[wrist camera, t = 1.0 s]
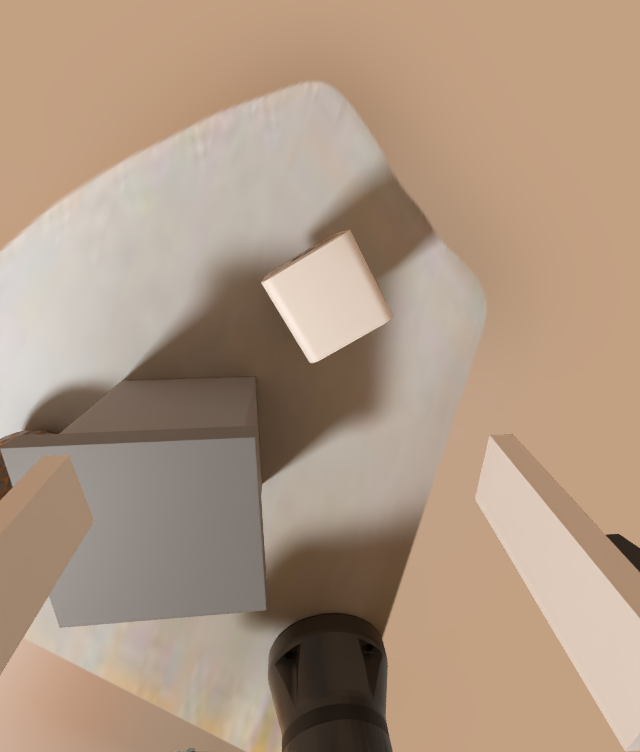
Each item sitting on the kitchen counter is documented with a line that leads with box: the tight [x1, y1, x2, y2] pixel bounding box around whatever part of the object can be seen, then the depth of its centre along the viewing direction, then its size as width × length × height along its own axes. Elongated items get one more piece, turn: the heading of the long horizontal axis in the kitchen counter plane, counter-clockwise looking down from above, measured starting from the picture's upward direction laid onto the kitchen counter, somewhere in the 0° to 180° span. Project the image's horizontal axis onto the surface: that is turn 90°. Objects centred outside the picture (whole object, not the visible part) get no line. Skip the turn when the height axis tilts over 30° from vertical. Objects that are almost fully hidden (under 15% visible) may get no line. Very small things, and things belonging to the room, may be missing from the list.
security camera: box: [261, 230, 392, 363], centre depth 28 cm, size 6×7×10 cm
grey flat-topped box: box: [0, 377, 267, 628], centre depth 30 cm, size 14×14×14 cm
